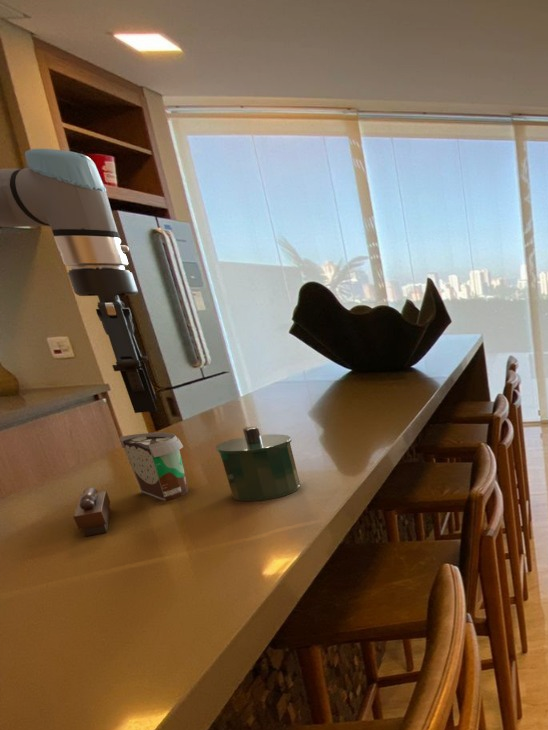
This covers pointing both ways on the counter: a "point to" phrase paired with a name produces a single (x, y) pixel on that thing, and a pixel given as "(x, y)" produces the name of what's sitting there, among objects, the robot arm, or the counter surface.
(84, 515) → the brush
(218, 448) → the pot lid
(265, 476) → the pot
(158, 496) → the food container
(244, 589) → the counter surface
